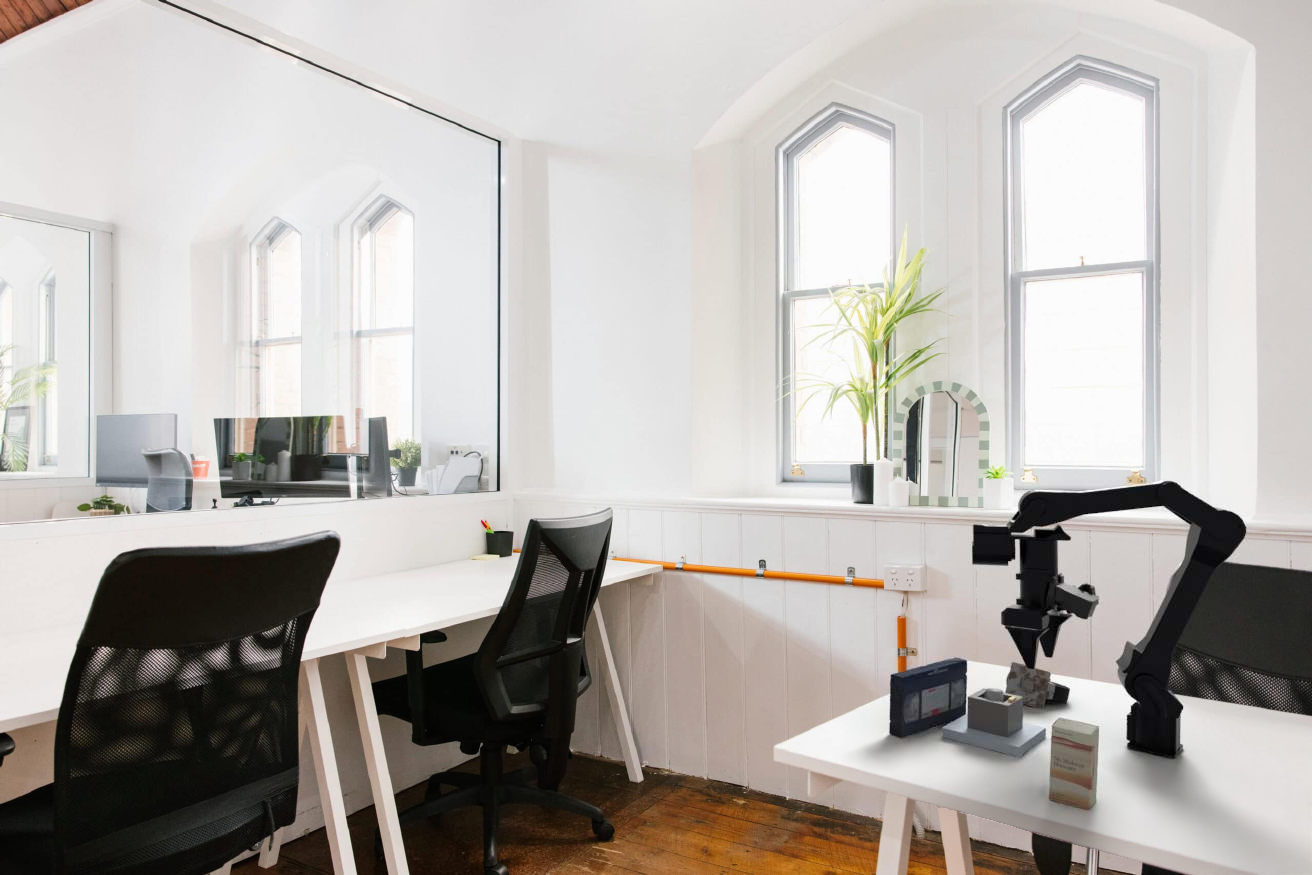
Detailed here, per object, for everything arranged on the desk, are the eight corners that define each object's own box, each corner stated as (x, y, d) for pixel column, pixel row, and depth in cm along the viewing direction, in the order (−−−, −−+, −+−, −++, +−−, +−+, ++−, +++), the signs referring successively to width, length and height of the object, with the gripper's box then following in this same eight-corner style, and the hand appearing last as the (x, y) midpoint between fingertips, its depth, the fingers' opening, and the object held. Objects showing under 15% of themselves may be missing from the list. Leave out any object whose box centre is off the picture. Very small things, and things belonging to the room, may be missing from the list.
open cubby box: (983, 718, 140) (983, 685, 140) (1022, 727, 135) (1023, 694, 135) (967, 727, 135) (967, 694, 135) (1007, 737, 131) (1008, 702, 131)
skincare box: (1047, 800, 111) (1048, 724, 111) (1056, 789, 115) (1057, 716, 115) (1090, 811, 108) (1092, 733, 108) (1098, 800, 112) (1099, 725, 112)
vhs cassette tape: (901, 739, 134) (902, 677, 134) (886, 733, 136) (886, 672, 136) (969, 718, 144) (970, 660, 144) (954, 713, 147) (955, 656, 147)
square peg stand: (1045, 736, 135) (1046, 690, 135) (1018, 756, 127) (1019, 707, 127) (972, 719, 144) (972, 675, 144) (942, 736, 135) (942, 690, 135)
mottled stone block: (1059, 709, 158) (1071, 717, 148) (997, 690, 161) (1004, 698, 151) (1067, 674, 158) (1079, 680, 149) (1004, 656, 162) (1012, 661, 152)
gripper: (1075, 579, 125) (1077, 684, 124) (1108, 564, 139) (1109, 659, 138) (999, 572, 132) (1000, 671, 132) (1037, 559, 146) (1038, 649, 146)
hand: (1040, 662), depth 137 cm, fingers open, 9 cm apart
